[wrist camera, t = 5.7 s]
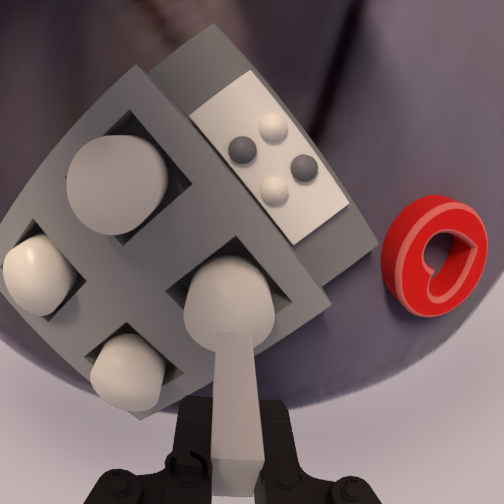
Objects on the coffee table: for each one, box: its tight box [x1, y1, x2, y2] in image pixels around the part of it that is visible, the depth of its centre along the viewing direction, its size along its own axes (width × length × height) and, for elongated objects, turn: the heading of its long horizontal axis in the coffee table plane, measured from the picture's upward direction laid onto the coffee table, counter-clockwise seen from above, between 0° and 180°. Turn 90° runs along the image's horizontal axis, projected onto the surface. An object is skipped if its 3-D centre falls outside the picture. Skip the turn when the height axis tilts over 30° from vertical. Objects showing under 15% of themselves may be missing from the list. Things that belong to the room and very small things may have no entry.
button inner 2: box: [66, 135, 169, 235], centre depth 15 cm, size 5×5×3 cm
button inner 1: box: [3, 232, 79, 316], centre depth 17 cm, size 5×5×3 cm
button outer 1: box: [90, 333, 166, 412], centre depth 19 cm, size 5×5×3 cm
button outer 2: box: [183, 255, 275, 352], centre depth 18 cm, size 5×5×3 cm
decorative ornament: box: [381, 195, 488, 317], centre depth 22 cm, size 10×10×3 cm
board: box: [0, 23, 379, 420], centre depth 19 cm, size 18×23×4 cm
